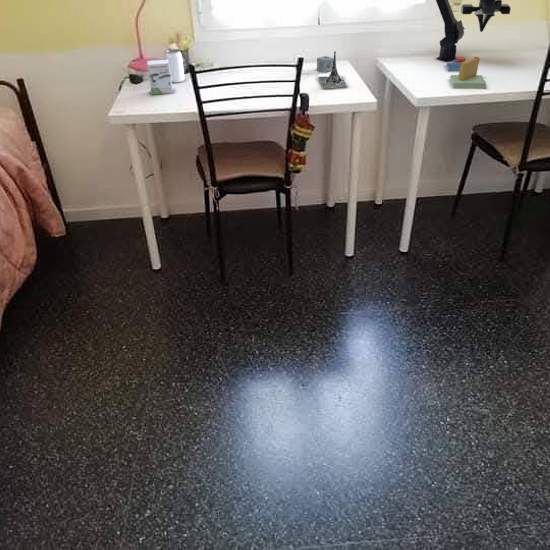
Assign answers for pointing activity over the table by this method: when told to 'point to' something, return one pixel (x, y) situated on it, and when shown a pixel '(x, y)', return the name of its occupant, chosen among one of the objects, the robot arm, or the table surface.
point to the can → (175, 65)
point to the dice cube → (325, 63)
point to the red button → (460, 59)
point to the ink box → (159, 76)
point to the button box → (453, 66)
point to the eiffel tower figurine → (333, 78)
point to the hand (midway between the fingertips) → (481, 31)
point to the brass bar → (468, 68)
